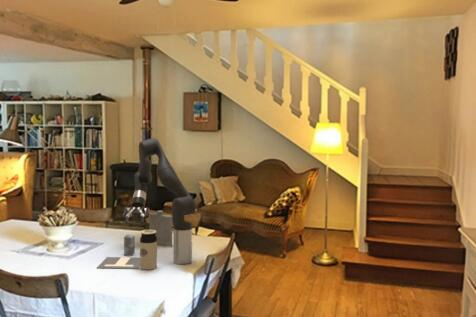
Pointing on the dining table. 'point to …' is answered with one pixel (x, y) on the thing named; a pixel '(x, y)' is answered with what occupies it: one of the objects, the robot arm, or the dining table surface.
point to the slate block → (129, 245)
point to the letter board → (120, 263)
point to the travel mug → (148, 250)
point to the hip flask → (161, 227)
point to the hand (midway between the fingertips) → (134, 223)
